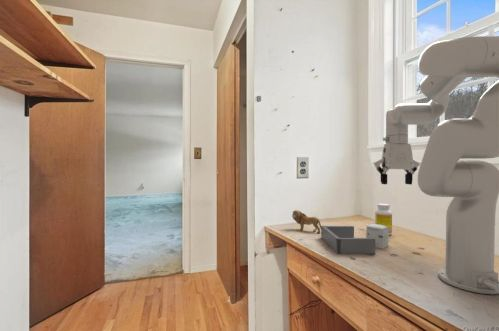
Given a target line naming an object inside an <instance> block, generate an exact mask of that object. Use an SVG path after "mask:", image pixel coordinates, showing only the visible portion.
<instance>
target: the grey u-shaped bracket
mask: <svg viewBox="0 0 499 331" xmlns="http://www.w3.org/2000/svg"><path fill="white" fill-rule="evenodd" d="M320 236H321V239H322V240H323V241H324V242H325V243H326V245H328V247H330V248H331V250H333V251H334V252H335V253H336V254H341V255H342V254H344V255H345V254H346V255H349V254H356V255H357V254H360V255H361V254H364V255H366V254H367V255H368V254H370V255H374V254H376V247H375V239H374V238H366V237H355V227H354V225H321V228H320ZM371 253H372V254H371Z"/></svg>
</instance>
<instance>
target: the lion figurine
mask: <svg viewBox="0 0 499 331" xmlns="http://www.w3.org/2000/svg"><path fill="white" fill-rule="evenodd" d="M291 216H292V217H291V218H292V219H293V221H295V222H296V223H297V225H298V224H299V225H300V226H299V227H300V229H299V231H300V232H302V231H303V230H304V229H305V228H304V227H305V225H307V226H310V225H313V227H314V228H315V229H314V228H313V232H316V233H317V234H321V226H322V225H321V222H320V220H319V218H318V217H316V216H307V215H306V214H305V213H303V212H302V211H300V210H297V209H295V210H293V211H292V215H291Z"/></svg>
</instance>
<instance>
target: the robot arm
mask: <svg viewBox="0 0 499 331" xmlns="http://www.w3.org/2000/svg"><path fill="white" fill-rule="evenodd" d="M417 70H418V72H419V73H420V74H421V75H423V76H425V77H423V79H422V80H420V84H419V88H420V89H419V90H420V92H421V93H422V95H424V96H425V97H426V98H427V99H430V101H429V102H427V103H417V102H416V103H398V104H396V105H395V106H394V107H392V108H391V109H388V110H387V111H386V113H385V137H383V138H382V141H383V142H385V143H384V145H383V149H382V155H381V159H379V160H377V161H375V162H374V163H373V166H374V167H375V169H376V171H377V172H378V173H379V174H380V184H382V185H388V173H387V172H389V170H404V171H405V174H404V175H405V176H404V177H405V179H404V183H405V184H406V185H409V186H410V185H413V175H414V174H415V173H416V171H417V170H418V172H417V184H418V187H419V190H420V191H421V192H422V193H423V194H425V195H427V196H429V197H436V198H437V197H439V198H440V197H441V198H452V200H451V201H450V203H449V205H448V206H447V209H446V214H445V264H444V265H445V268H441V269H439V270H438V271H437V276H438V277H439V279H440V280H441V281H443V282H444V283H446V284H448V285H449V286H450V285H451V286H453V287H455V288H458V289H460V290H464V291H466V292H467V291H468V292H470V293H471V292H473V293H476V294H482V295H483V294H484V295H499V272H496V271H495V243H496V242H495V238H496V237H495V236H496V233H495V232H496V230H495V229H496V211H497V203H498V197H499V168H498V167H497V166H496V165H494V164H492V163H490V162H488V161H485V159H494V158H499V36H498V35H497V36H495V35H494V36H493V35H492V36H491V35H490V36H486V35H485V36H464V37H459V38H453V39H452V38H451V39H446V40H440V41H436V42H433V43H431V44H430V45H428V46H427V47H426V48H424V50H423V51H422V52H421V54H420V56H419V59H418V62H417ZM489 77H490V78H492V77H493V78H494V77H495V78H498V80H497V81H496V82H495V83H493V84H492V85H491V86H489V87H488V88H487V89H486V90H485V91H484V93H482V95H481V96H480V98H479V99H478V101H477V104H476V107H475V109H474V111H473V113H472V115H471V116H470V117H469V118H467V117H466V118H459V117H458V118H449V119H445V120H443V121H442V122H440V123H438V124H437V125H436V126H435V127H434V128H433V130H432V131H431V134H430V135H429V139H428V141H427V143H426V144H427V145H426V148H425V150H424V153H423V156H422V159H421V163H420V162H418V161H416V160H414V159H413V158H414V157H413V151H412V146H411V143H409V126H412V125H415V126H416V125H417V126H419V125H420V126H422V125H423V126H424V125H429V124H431V123H434V122H435V121H436V120H438V118H440V117H441V116H442V115H444V113H445V112H446V111H447V108H449V107H448V106H449V103H450V94H451V92H453V91H454V90H455V89H456V88H457V87H458V86H460V85H461V84H462V83H463V82H464V81H465V80H466V79H467V78H489ZM478 159H479V160H478ZM480 159H483V160H480ZM418 168H419V169H418Z"/></svg>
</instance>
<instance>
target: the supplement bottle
mask: <svg viewBox="0 0 499 331" xmlns="http://www.w3.org/2000/svg"><path fill="white" fill-rule="evenodd" d="M374 224H378V225H383V226H389V236H390V235H392V234H393V212H392V211H391V210H390V203H389V204H388V203H377V209H375V211H374Z"/></svg>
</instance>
